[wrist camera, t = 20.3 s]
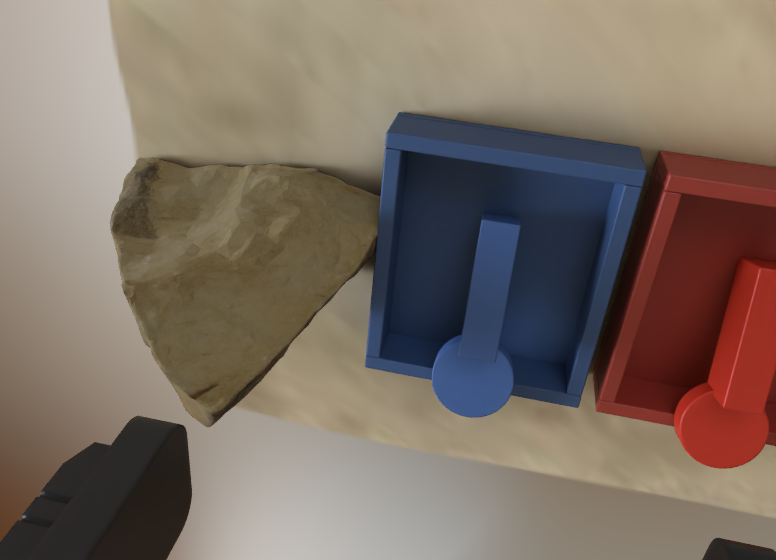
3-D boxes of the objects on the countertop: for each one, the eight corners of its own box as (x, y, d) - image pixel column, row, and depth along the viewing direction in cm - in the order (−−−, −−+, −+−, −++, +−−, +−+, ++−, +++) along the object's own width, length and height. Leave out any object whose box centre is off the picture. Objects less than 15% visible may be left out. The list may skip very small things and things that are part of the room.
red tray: (659, 150, 25) (669, 174, 23) (923, 188, 24) (958, 217, 22) (592, 375, 31) (595, 411, 29) (807, 416, 30) (827, 456, 27)
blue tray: (398, 111, 27) (386, 131, 24) (639, 147, 25) (647, 171, 23) (376, 335, 32) (364, 367, 30) (576, 372, 31) (578, 408, 29)
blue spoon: (460, 208, 28) (456, 215, 25) (543, 221, 27) (546, 229, 25) (428, 400, 29) (422, 421, 27) (505, 415, 29) (506, 437, 27)
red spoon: (714, 251, 26) (732, 262, 24) (804, 266, 26) (831, 278, 24) (664, 448, 28) (678, 474, 26) (748, 465, 28) (769, 492, 26)
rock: (60, 249, 30) (232, 411, 30) (-40, 217, 22) (199, 443, 22) (242, 74, 31) (406, 230, 32) (215, -21, 23) (438, 194, 23)
